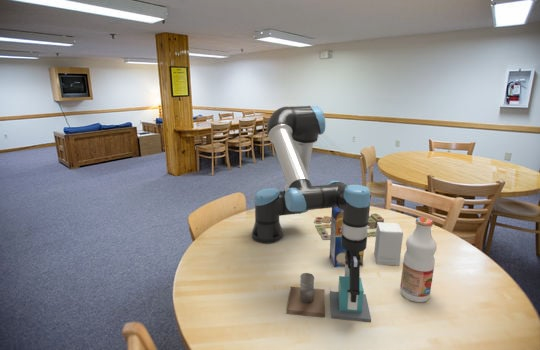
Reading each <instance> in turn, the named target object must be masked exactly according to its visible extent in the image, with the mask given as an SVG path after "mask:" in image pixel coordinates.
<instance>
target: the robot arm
mask: <svg viewBox="0 0 540 350" xmlns="http://www.w3.org/2000/svg"><path fill="white" fill-rule="evenodd" d="M266 123H267V124H266V135H267V138H268V140H269V142H271V143H272V144H273V147H274V150H275V153H276V156H277V159H278V161H279V164H280V167H281V170H282V172H283V175H284V176H283V177H284V179H285V181H286V184H284V187H283V190H282V191H281V190H279V189H278V188H277V187H268V188H263V189H260V190H258V191H257V192H256V194H255V195H254V218H255V219H254V220H255V221H254V225H253V228H252V231H251V237H252V239H253V240H254V241H255V242H257V243H261V244H274V243H277V242H279V241H281V240H282V239H283V237H284V230H283V228H282V225H281V222H280V217H281V216H290V215H301V214H304V213H307V212H309V211H313V210H314V211H315V210H323V209H324V210H325V209H332V208H333V207H338V208H339V209H340V210H342V211H343V221H342V240H341V245H342V247H343V248H344V249H345V250H346V255H345V259H346V261H345V263H346V264H347V265H345V267H344V276H345V277H350V289H349V290H347V292H349V294H348V309H350V310H357V303H358V295H360V292H359V291H360V278H361V277H360V274H361V273H360V272H361V271H360V270H361V269H360V268H361V266H360V255H359V252H361V251H364V252H365V250H366V249H367V242H368V237H367V232H368V230H371V229H370V226H368V220H369V216H370V208H371V202H372V200H371V189H370V188H369V187H368V186H365V185H361V184H349V185H347V183H344V182H342V181H339V180H331V181H329V182H327V183H326V184H324V185H312V183H311V180H310V178H309V171H310V164H311V158H312V152H313V147H314V144H315V143H316V142H317V141H318V138H319V136H320V135H323V134H324V133H325V131H326V117H325V114H324V112H323V109H321V108H320V107H319V106H314V105H305V106H304V105H301V106H299V105H298V106H283V107H282V106H281V107H280V108H278V109H276V110H274V112H273V113H272V114H271V115H270V117H269V118H268V121H267V122H266Z"/></svg>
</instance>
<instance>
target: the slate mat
mask: <svg viewBox="0 0 540 350" xmlns="http://www.w3.org/2000/svg"><path fill="white" fill-rule="evenodd" d="M329 298H330V299H329V300H330V318H331V319H339V320H347V321H356V322H367V323H371V322H372V315H371V312H370V307H369V302H368V299H367V294H366V293H364V294H363V306H362V313H359V312H348V311H339V302H338V291H334V290H333V291H332V290H330V292H329Z"/></svg>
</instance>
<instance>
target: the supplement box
mask: <svg viewBox="0 0 540 350" xmlns="http://www.w3.org/2000/svg"><path fill="white" fill-rule="evenodd" d="M375 229H376V230H375V231H376V237H375V239H374V240H375V242H374V258H375V262H376V264H377V265H384V266H397V267H399V266H400V262H401V255H402V254H401V253H402V245H403V238H404V237H403V236H404V232H403V230H402V228H401V226H400V224H399V223H397V222H396V223H395V222H384V223H383V222H377V228H375Z"/></svg>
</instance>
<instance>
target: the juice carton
mask: <svg viewBox="0 0 540 350" xmlns="http://www.w3.org/2000/svg"><path fill="white" fill-rule="evenodd" d="M330 217H331V221H330V224H331V228H330V235H331V236H330V240H329V259H330V262H331V263H332V265H333V268H345V265H347V264H346V263H345V261H346V259H345V255H346V250H345V249H344V248H343V247H342V245H341V240H342V221H343V211H342V210H340V209H339V208H338V207H333V208H331V216H330ZM364 252H365V250H364V251H361V252H359V255H360V267H363V265H364V255H365V253H364Z"/></svg>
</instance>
